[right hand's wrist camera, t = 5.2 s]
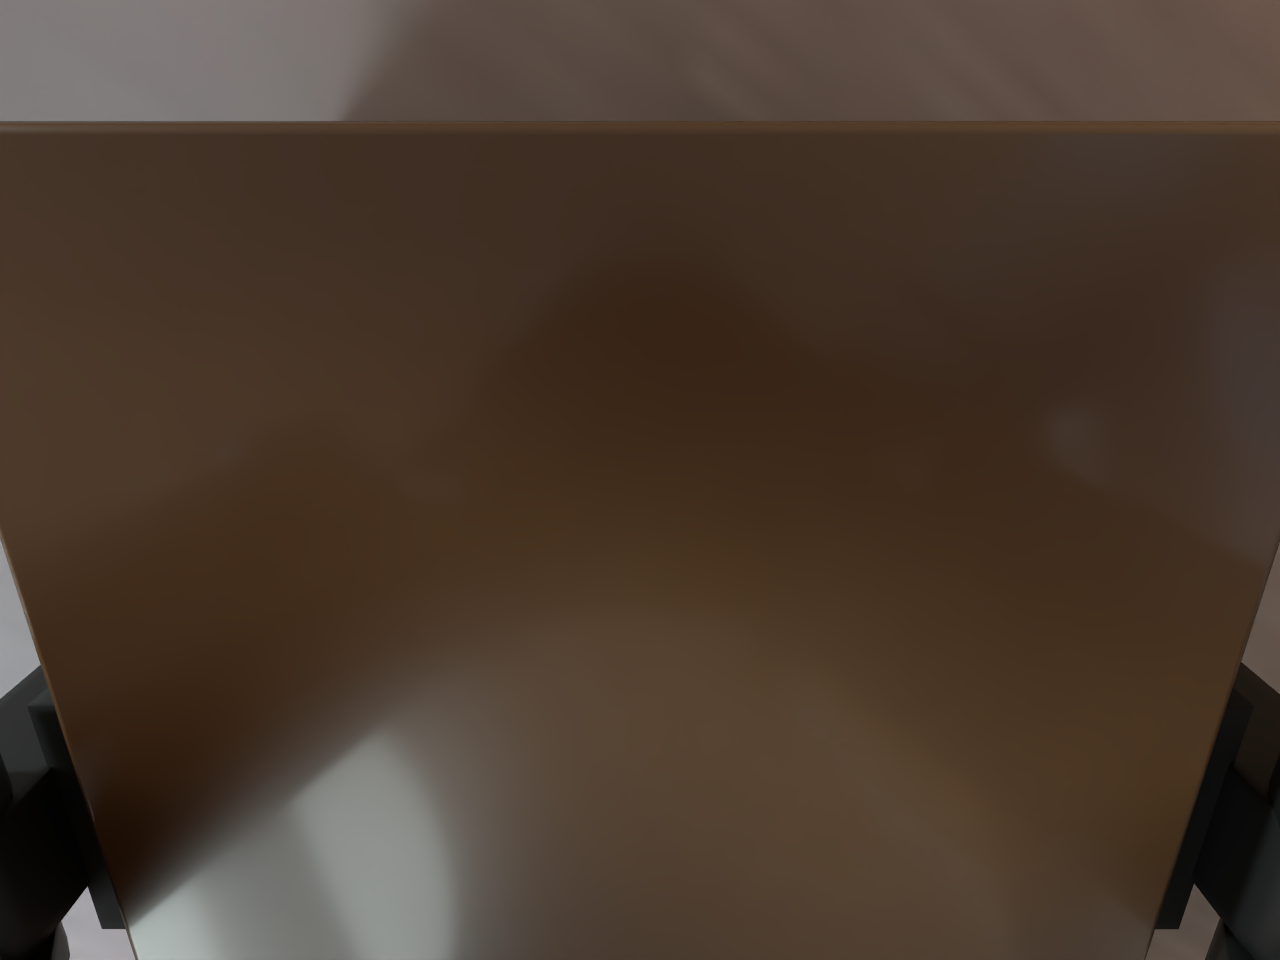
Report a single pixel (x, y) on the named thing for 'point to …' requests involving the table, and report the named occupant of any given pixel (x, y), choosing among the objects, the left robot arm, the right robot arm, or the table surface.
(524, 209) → the brown wooden beam
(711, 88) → the table surface
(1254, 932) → the right robot arm
